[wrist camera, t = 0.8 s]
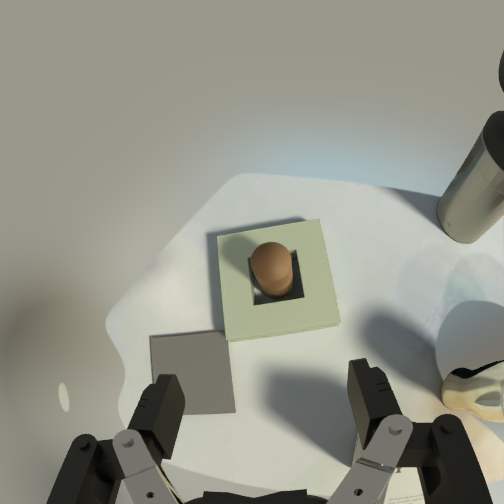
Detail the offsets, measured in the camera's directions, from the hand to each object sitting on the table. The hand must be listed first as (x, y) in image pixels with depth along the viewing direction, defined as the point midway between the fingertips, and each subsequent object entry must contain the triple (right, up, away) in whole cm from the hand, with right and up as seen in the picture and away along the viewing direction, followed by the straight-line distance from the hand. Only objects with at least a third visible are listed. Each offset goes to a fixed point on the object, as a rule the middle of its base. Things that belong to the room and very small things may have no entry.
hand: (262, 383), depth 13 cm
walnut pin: (+3, +2, +28) cm, 28 cm away
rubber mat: (-9, -10, +25) cm, 28 cm away
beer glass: (+28, -13, +18) cm, 36 cm away
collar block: (+3, +2, +28) cm, 28 cm away
